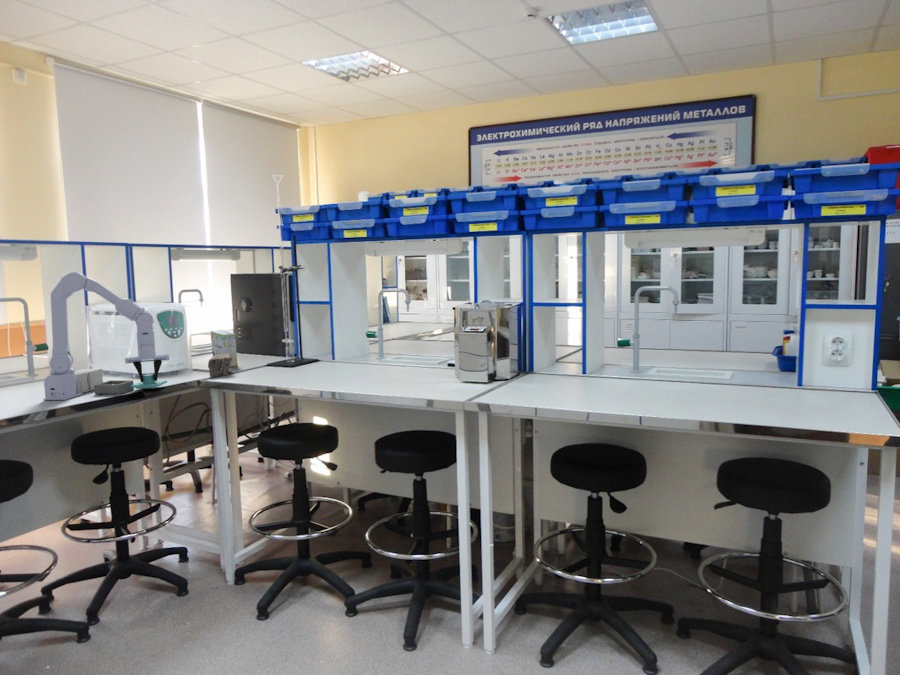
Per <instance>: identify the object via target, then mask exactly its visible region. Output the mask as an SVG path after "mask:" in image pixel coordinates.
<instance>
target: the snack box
mask: <svg viewBox="0 0 900 675" xmlns="http://www.w3.org/2000/svg"><path fill="white" fill-rule="evenodd" d="M236 338H237V337H236V333H233V332H229V331H227V330H223V329H218V330H217V329H216V330H210V341H211V342H210V343H211V352H212V357H213V356H215V355H219V354H228V353H230V354H231V355H230V356H231V357H232V361H231V364H230V367H229V368H235V367H238V354H237V340H236Z"/></svg>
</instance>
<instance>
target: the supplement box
mask: <svg viewBox="0 0 900 675" xmlns="http://www.w3.org/2000/svg"><path fill="white" fill-rule="evenodd" d="M74 371H75V383H76V393H82V394H83V393H88V392H91V391H95V388H94V385H96V384H100V383H103V382H104V380H103V368H83V369H78V370H74Z"/></svg>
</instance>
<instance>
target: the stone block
mask: <svg viewBox="0 0 900 675" xmlns="http://www.w3.org/2000/svg"><path fill="white" fill-rule="evenodd" d="M230 355H231V354H230V353H228V354H219V355H215V356H213V355H212V357H210V359H208V365H207V368H208V369H209V370H208V371H209V377H210V376H211V377H223V376H224V375H226V376H228V375H229V371H230V368H231V367H230V364H231V361H232V357H231V356H230ZM224 377H225V376H224Z"/></svg>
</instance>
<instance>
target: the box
mask: <svg viewBox="0 0 900 675" xmlns="http://www.w3.org/2000/svg"><path fill="white" fill-rule="evenodd" d="M133 384H134V380H133V379H132V380H131V379H130V380H129V379H128V380H127V379H126V380H122V379H119V380H107V381H103V383H100V384H96V385H94V388H95V390H94V395H95V394H120V395H123V394H126V393H129V392H131V390H132V391H134V390H135V388H131V385H133ZM128 391H129V392H128Z"/></svg>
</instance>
